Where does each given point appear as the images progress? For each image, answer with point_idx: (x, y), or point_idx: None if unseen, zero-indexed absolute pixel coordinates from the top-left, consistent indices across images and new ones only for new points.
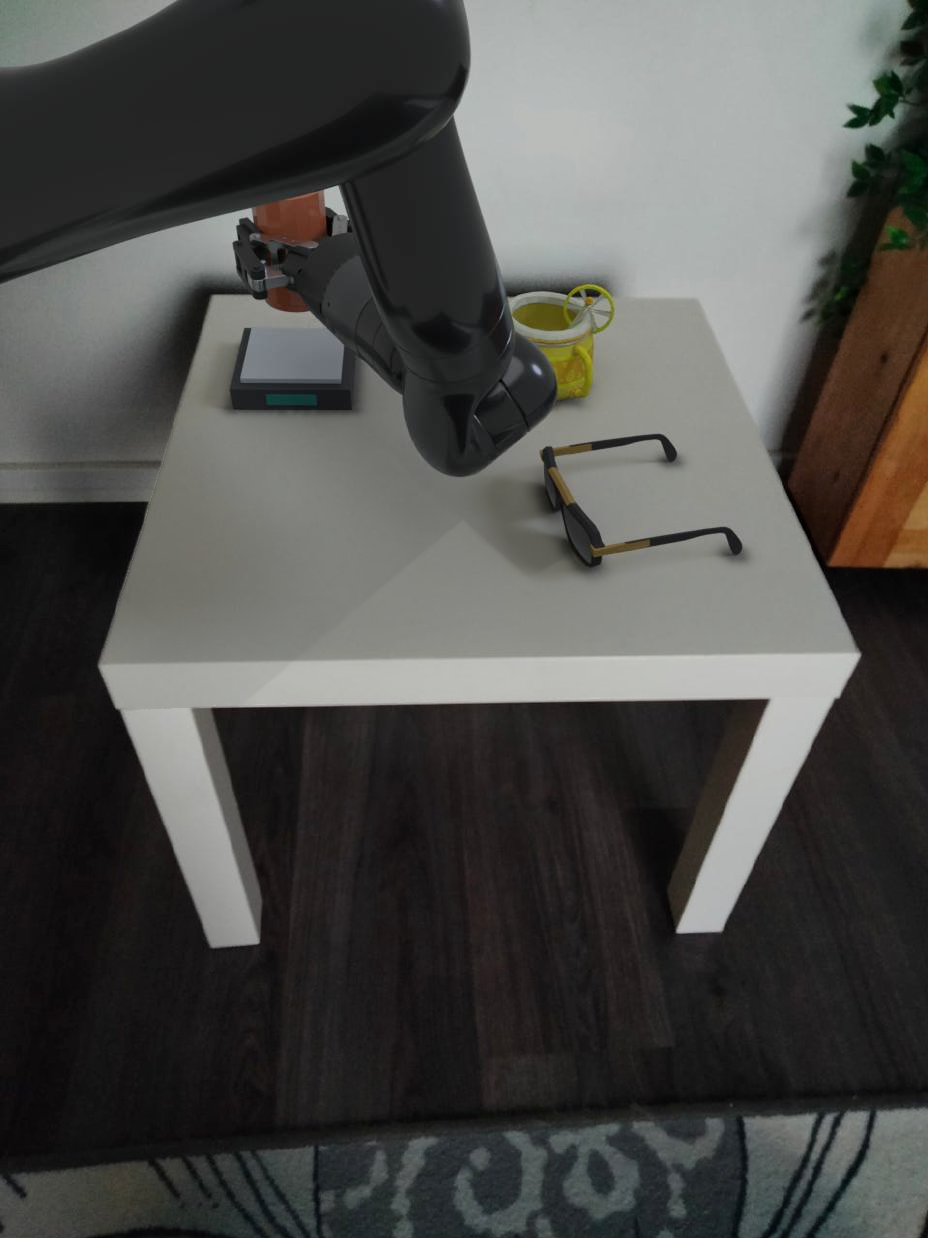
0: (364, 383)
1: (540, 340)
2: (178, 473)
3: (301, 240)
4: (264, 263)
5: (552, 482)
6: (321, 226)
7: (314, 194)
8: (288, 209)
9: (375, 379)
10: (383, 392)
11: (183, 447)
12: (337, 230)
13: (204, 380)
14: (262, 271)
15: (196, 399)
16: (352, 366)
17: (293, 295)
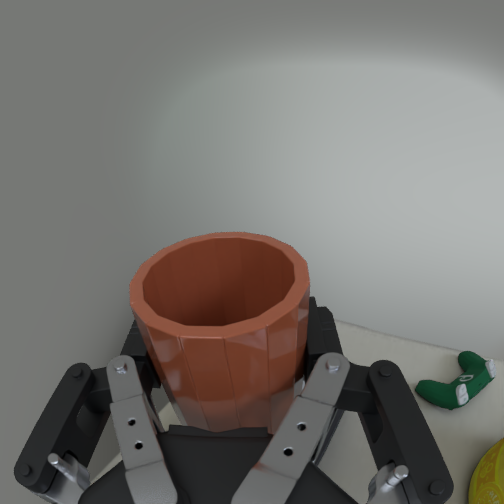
0: (331, 464)
1: None
2: None
3: (160, 451)
4: (52, 465)
5: None
6: (272, 385)
7: (251, 332)
8: (170, 351)
9: (346, 461)
10: (345, 486)
11: (110, 469)
12: (284, 445)
13: None
14: (29, 487)
15: (160, 416)
16: (320, 456)
17: None
